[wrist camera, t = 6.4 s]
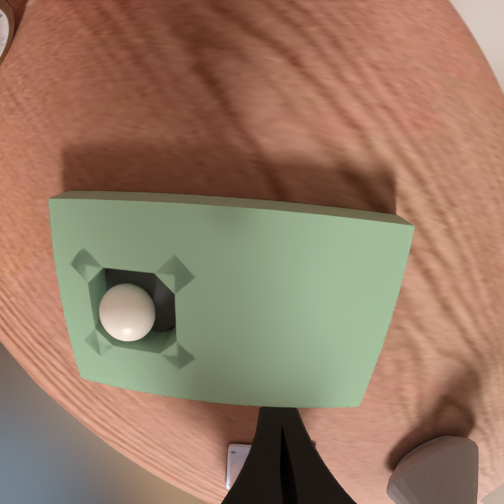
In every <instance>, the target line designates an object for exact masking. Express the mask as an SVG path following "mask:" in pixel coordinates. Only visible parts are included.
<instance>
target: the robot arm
mask: <svg viewBox="0 0 504 504" xmlns="http://www.w3.org/2000/svg"><path fill="white" fill-rule="evenodd" d="M226 488H227V489H228V490H229V492H228V494H227V495H226V497H225V498H224V500H223V501H222V503H221V504H357V503H356V502H355V501H354V500H353V499H352V498H351V497H350V496H349V495H348V494H347V493H346V491H345V490H344V489H343V488H342V487H341V485H340V484H339V483H338V482H337V480H336V479H335V478H334V476H333V475H332V474H331V472H330V471H329V469H328V468H327V466H326V465H325V463H324V462H323V460H322V458H321V457H320V455H319V453H318V452H317V449H316V447H315V446H314V445H313V443H312V441H311V439H310V437H309V435H308V433H307V431H306V429H305V426H304V424H303V422H302V419H301V417H300V414H299V412H298V409H297V408H296V407H267V406H263V407H261V408H260V409H259V415H258V422H257V428H256V434H255V437H254V440H253V443H252V445H245V444H230V445H229V446H228V461H227V480H226Z"/></svg>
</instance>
